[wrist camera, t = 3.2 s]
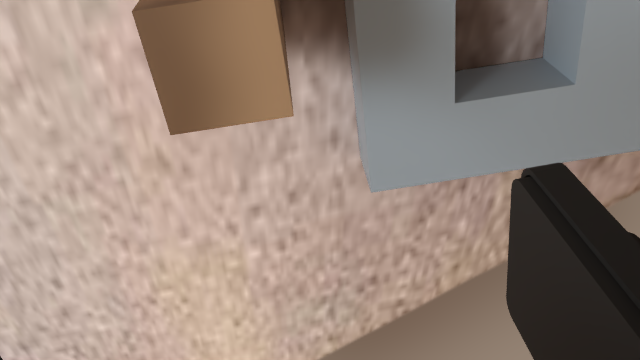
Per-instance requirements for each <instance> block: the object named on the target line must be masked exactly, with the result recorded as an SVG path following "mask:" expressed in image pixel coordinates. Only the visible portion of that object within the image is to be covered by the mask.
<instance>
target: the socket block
mask: <svg viewBox="0 0 640 360" xmlns="http://www.w3.org/2000/svg"><path fill="white" fill-rule="evenodd" d="M455 4H456V0H345V9H346V19H347V29H348V39H349V48H350V58H351V68H352V78H353V88H354V98H355V108H356V117H357V127H358V137H359V147H360V157H361V160H362V164H363V167H364V170H365V174H366V177H367V180H368V184H369V187H370V190H371V193H372V192H378V191H384V190H391V189H397V188H403V187H410V186H416V185H423V184H429V183H435V182H442V181H448V180H455V179H461V178H467V177H474V176H480V175H486V174H493V173H499V172H506V171H512V170H518V169H525V168H531V167H536V166H542V165H547V164H553V163H563V162H569V161H576V160H582V159H588V158H595V157H601V156H608V155H614V154H620V153H627V152H633V151H639V150H640V0H548V10H547V20H546V30H545V40H544V50H543V58H537V59H531V60H524V61H518V62H512V63H505V64H499V65H492V66H486V67H479V68H473V69H467V70H460V71H455Z"/></svg>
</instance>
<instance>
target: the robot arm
mask: <svg viewBox="0 0 640 360" xmlns="http://www.w3.org/2000/svg"><path fill="white" fill-rule="evenodd" d="M507 273H508V274H507V293H506V294H507V295H506V296H507V297H506V298H507V305H508V309H509V312H510V315H511V317H512V319H513V321H514V323H515V325H516V327H517V329H518V330H519V332H520V334H521V336H522V338H523V340H524V342H525V344H526V345H527V347H528V349H529V351H530V353H531V355H532V357H533V359H534V360H640V238H639V237H637V236H636V235H635V234H633V233H629V232H627V231H626V230H625V229H624V228H623V227H622V226H621V224H620V223H619V222H618V221H617V220H616V219H615V218H614V217H613V216H612V215H611V214H610V213H609V212H608V211H607V210H606V208H605V207H604V206H603V205H602V204H601V203H600V202H599V201H598V200H597V199H596V198H595V197H594V196H593V195H592V194H591V192H590V191H589V190H588V189H587V188H586V187H585V186H584V185H583V184H582V183H581V182H580V181H579V180H578V179H577V178H576V176H575V175H574V174H573V173H572V172H571V171H570V170H569V169H568V168H567V167H566V166H565V165H564V164H562V163H553V164H547V165H542V166H536V167H531V168H526V169H525V170H523V173H522V176H521V178H519V179H515V180H513V183H512V189H511V209H510V230H509V251H508V272H507ZM0 360H3V359H2V358H1V357H0Z"/></svg>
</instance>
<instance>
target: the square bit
mask: <svg viewBox="0 0 640 360" xmlns="http://www.w3.org/2000/svg"><path fill="white" fill-rule="evenodd" d="M132 13H133V17H134V20H135V23H136V26H137V29H138V33H139V36H140V39H141V42H142V45H143V49H144V52H145V55H146V58H147V61H148V65H149V68H150V71H151V74H152V77H153V81H154V84H155V87H156V90H157V93H158V97H159V100H160V103H161V106H162V109H163V113H164V116H165V119H166V122H167V125H168V129H169V132H170V135H175V134H182V133H188V132H194V131H201V130H207V129H214V128H220V127H227V126H233V125H239V124H246V123H252V122H259V121H265V120H272V119H278V118H284V117H291V116H294V115H293V106H292V97H291V88H290V79H289V70H288V61H287V52H286V44H285V35H284V26H283V19H282V13H281V7H280V0H139V2H138V3H137V5H136V6H135V8H134V9H133V11H132Z"/></svg>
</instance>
